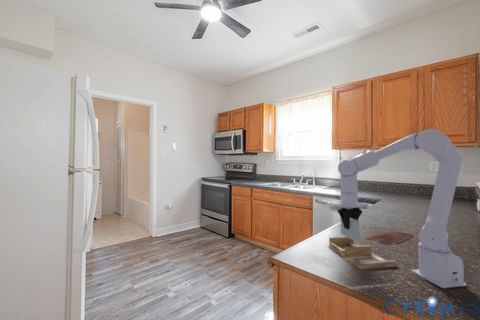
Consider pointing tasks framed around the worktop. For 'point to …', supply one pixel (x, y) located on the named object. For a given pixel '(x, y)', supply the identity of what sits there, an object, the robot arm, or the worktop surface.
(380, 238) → the wooden tablet
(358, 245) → the offcut
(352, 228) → the panel
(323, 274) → the worktop surface
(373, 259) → the felt pad
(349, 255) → the rack
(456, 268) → the robot arm
